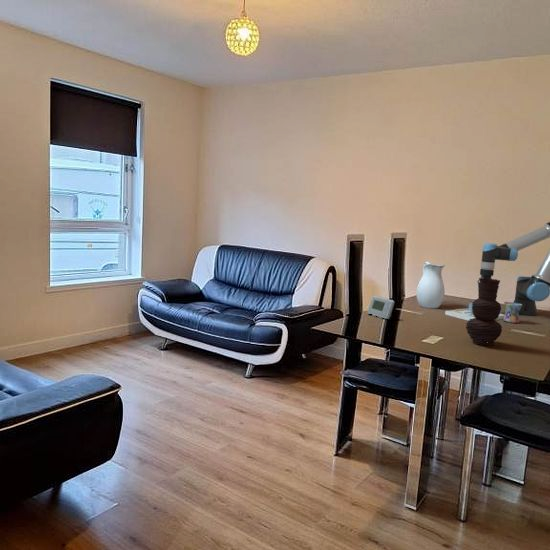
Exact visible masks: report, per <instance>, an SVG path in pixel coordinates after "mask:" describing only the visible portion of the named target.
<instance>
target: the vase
mask: <svg viewBox="0 0 550 550" xmlns="http://www.w3.org/2000/svg"><path fill="white" fill-rule="evenodd" d="M478 280H479V281H480V282H479V284H480V285H479V289H480V290H479V293H478V294H477V295H478V298H476V299H474V301H472V302H473V304H472V305H473V306H472V310H473V311H472V312H473V315H474V317H476V318H473V319H470V320H469V321H468V320H467V322H466V323H465V324H466V327H465V329H466V331H467V334H468V336H469V337H470V339H471V342H472V341H473V342H472V343H473V344H475V343H476V344H475V345H478V344H480V345H479V346H484V345H489V346H491V345H492V344H493V343H494V342H495V341H497V339H498V338H499V337H501V335H502V331H503V329H502V328H503V327H502V325H501V324H500V322H498V321H497V320H495V319H497V318H498V317H499V315H500V314H501V311H502V306H501V304H500V302H499V301H497V297H498V290H499V289H500V288H499V287H500V286H499V284H500V282H501V280H499V279H497V278H495V279H494V278H491V279H490V278H489V279H488V278H481V277H479V278H478ZM487 342H488V343H487Z"/></svg>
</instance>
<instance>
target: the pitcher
mask: <svg viewBox="0 0 550 550" xmlns="http://www.w3.org/2000/svg"><path fill="white" fill-rule="evenodd" d="M422 265H423V266H422V276H421V278H420V280H419V282H418V285H417V286H416V287H417V288H416V292H415V293H416V300H417V303H418V305H419V306H420V307H422V308H425V309H439V307H440V306H441V305H442V304H443V301H444V298H445V293H446V292H445V285H444V281H443V277H442V271H443V269H444V267H445V264H442V265H436V264H433V263H431V262H430V261H425V262H424V263H423V264H422Z"/></svg>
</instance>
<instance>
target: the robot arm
mask: <svg viewBox="0 0 550 550" xmlns="http://www.w3.org/2000/svg"><path fill="white" fill-rule="evenodd" d="M548 238H550V221H549V222H546V223H544V225H543V226H542V227H541V226H540V227H539V228H537V229H535V230H532V231H530V232H527V233H525V234H523V235H521V236H519V237H517V238H514V239H512V240H510V241H508V242H505V243H502V244H500V245H498V244H496V243H489V242H487V243H486V242H485V243H484V244H483V247H482V254H481V262H480V270H479V275H480V278H488V279H489V278H490V279H492V277H493V276H494V272H495V265H496V261H505V262H506V261H509V262H515V261H516V260H517V259H518V256H519V255H518V254H519V251H521V250H524V249H526V248H529V247H531V246H533V245H535V244H537V243H540V242H541V241H544V240H547V239H548ZM479 282H480V281H479V279H478V280H477V284H478V285H477V286H478V288H477V289H478V294H479V290H480V289H479V285H480V284H479ZM549 297H550V249H549V250H548V251H547V253H546V255H545V256H544V258H543V260H542V262H541V264H540V266H539V268H538V269H537V271H536V273H534V274H532V275H531V276H518V277H517V279H516V288H515V295H514V300H513V303H519V304H522V307H521V308H520V310H519V314H518V315H525V316H537V314H538V308H537V305H536V303H537V302H544V301H545V300H546V299H548V298H549Z"/></svg>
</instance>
